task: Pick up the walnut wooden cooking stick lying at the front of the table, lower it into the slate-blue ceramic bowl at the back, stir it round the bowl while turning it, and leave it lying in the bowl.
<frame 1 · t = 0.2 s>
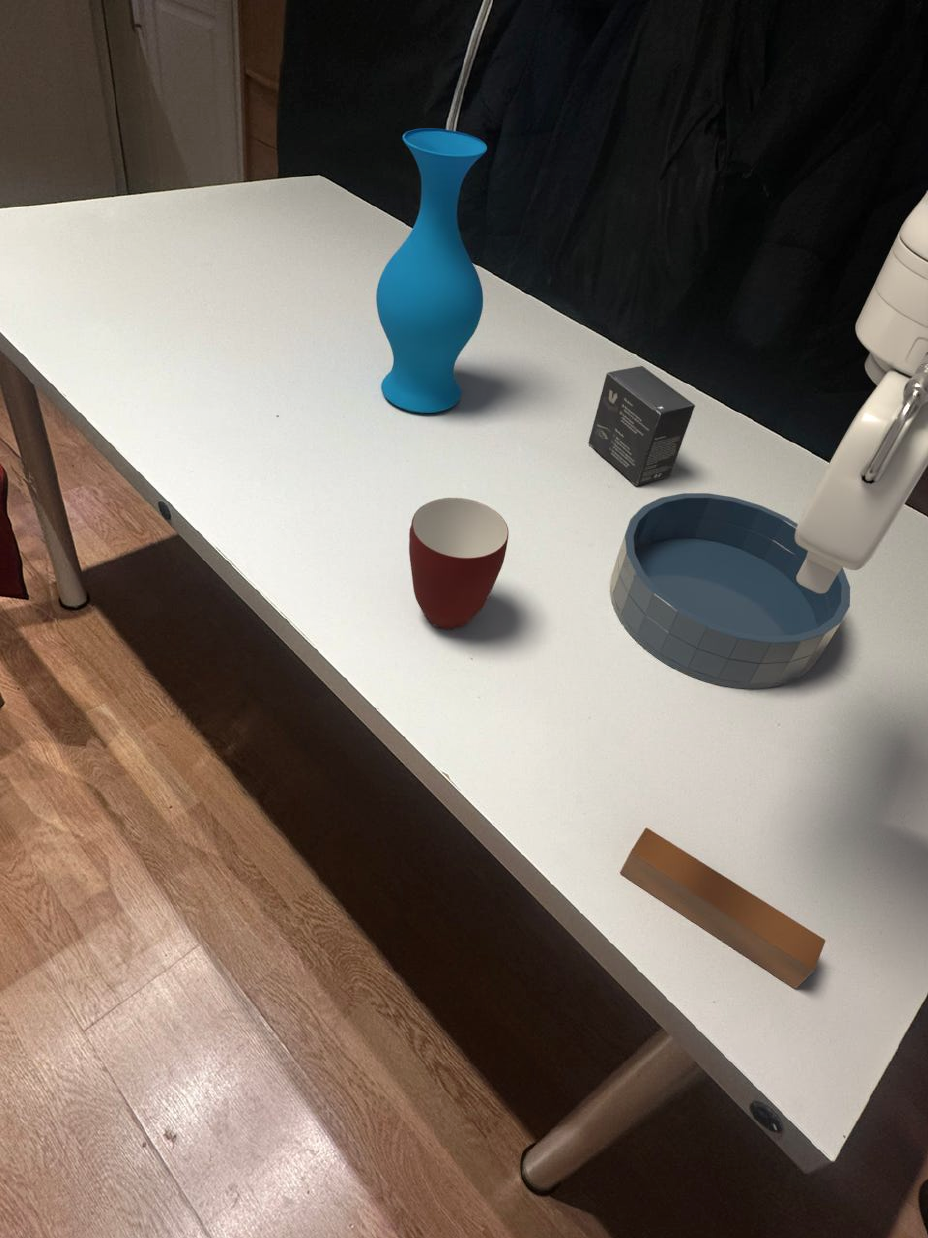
hand: (836, 543, 49), 23 cm above the table, tool pointing down, fingers open, 8 cm apart
box: (627, 462, 96), on the table
bowl: (714, 607, 79), on the table
stick: (710, 915, 56), on the table
vase: (420, 395, 101), on the table
mug: (438, 607, 75), on the table
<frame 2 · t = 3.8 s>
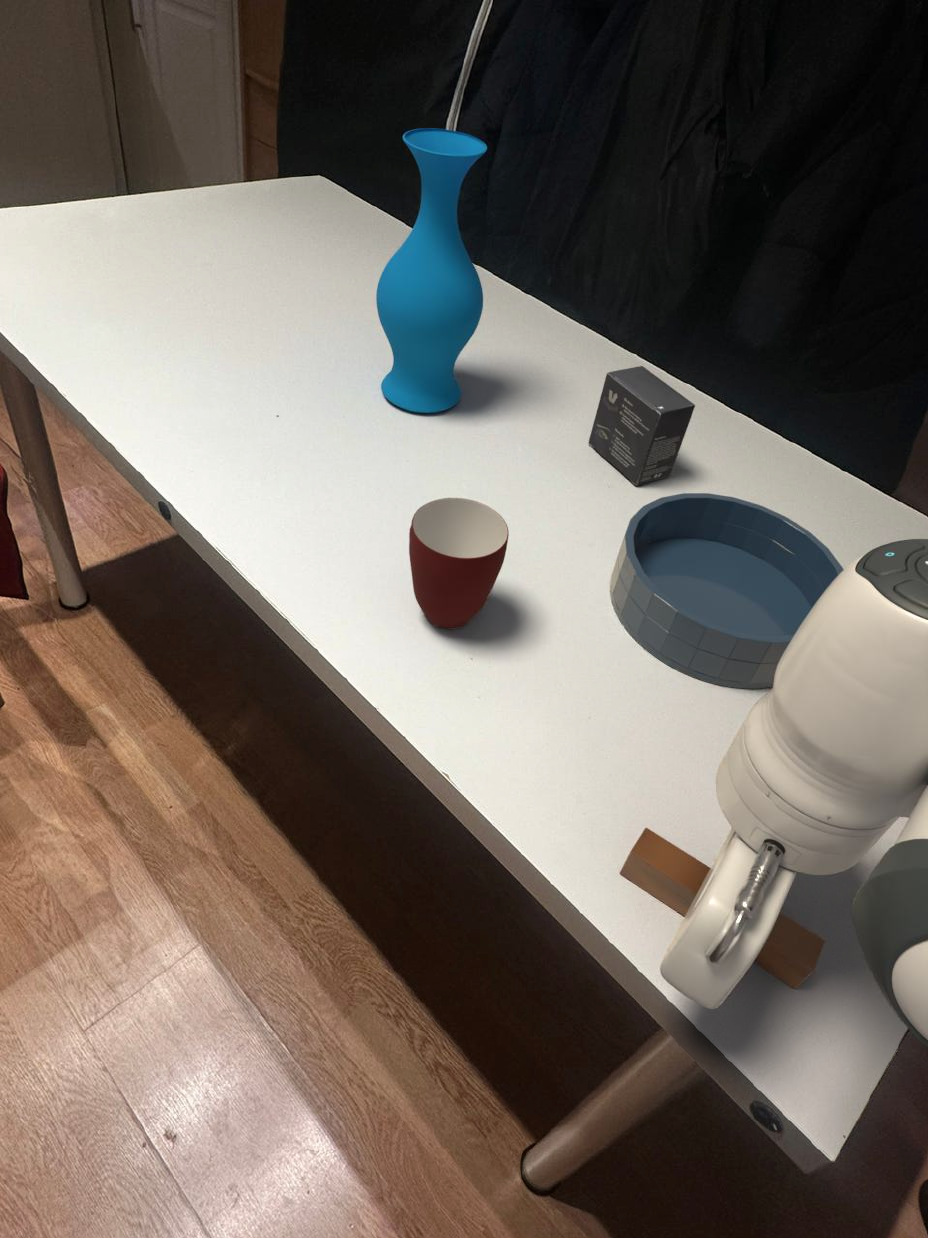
hand: (719, 904, 55), 2 cm above the table, tool pointing down, fingers closed on stick, 2 cm apart
stick: (710, 915, 56), on the table, touching gripper
everything else where it was.
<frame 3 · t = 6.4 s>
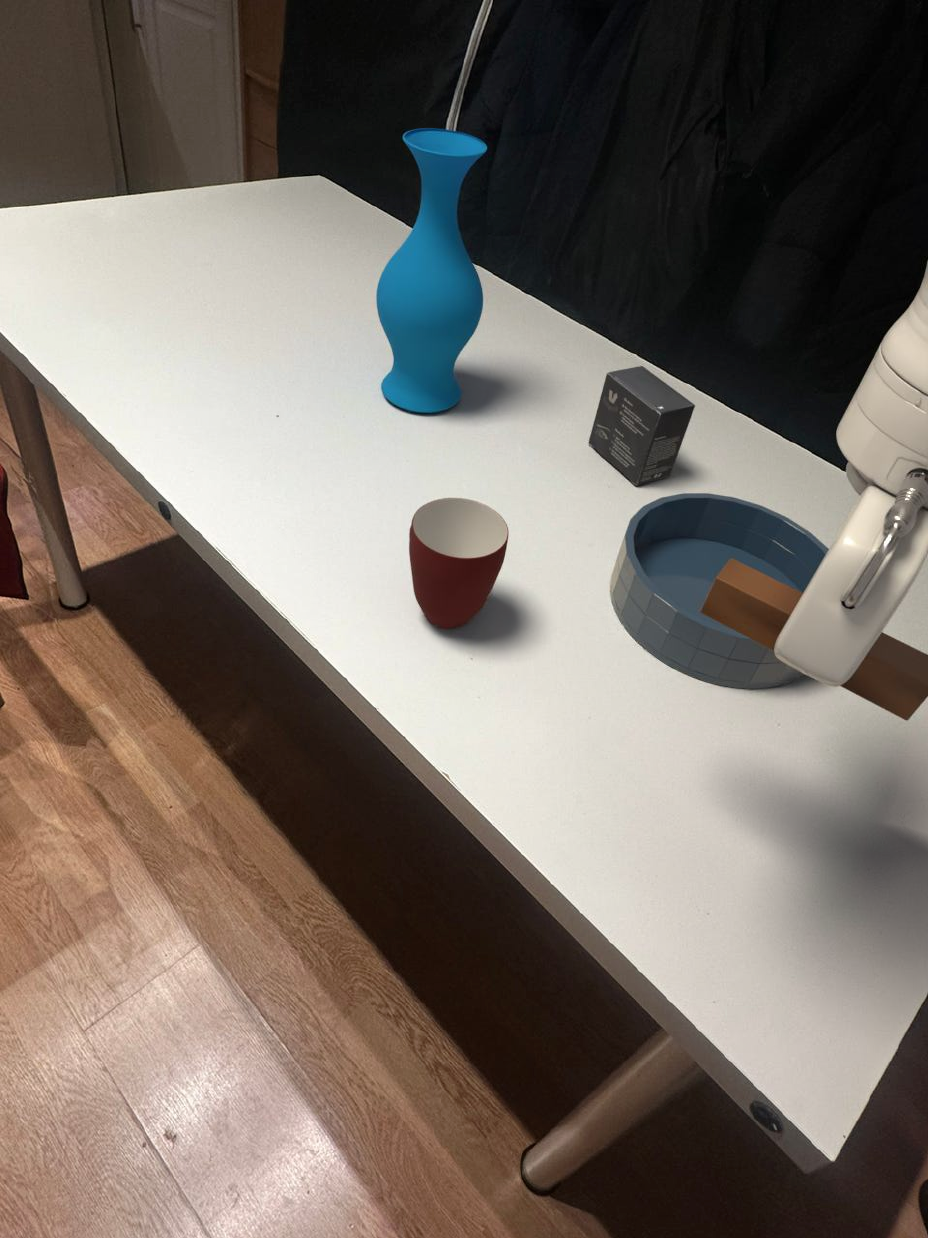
hand: (817, 634, 48), 20 cm above the table, tool pointing down, fingers closed on stick, 2 cm apart
stick: (804, 653, 50), point 18 cm above the table, touching gripper
everything else where it was.
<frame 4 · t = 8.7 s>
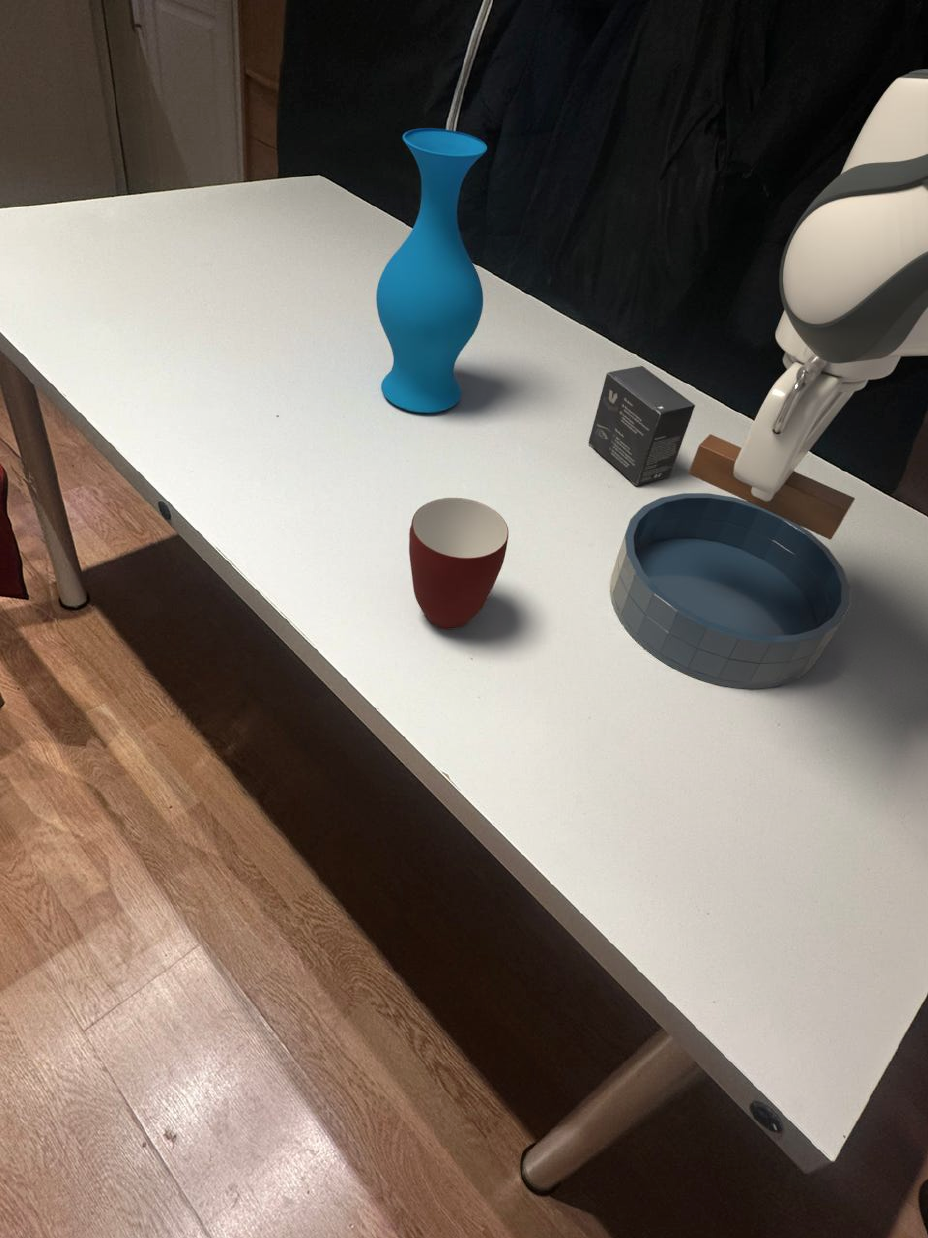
hand: (770, 484, 69), 14 cm above the table, tool pointing down, fingers closed on stick, 2 cm apart
stick: (762, 499, 70), point 13 cm above the table, touching gripper
everything else where it was.
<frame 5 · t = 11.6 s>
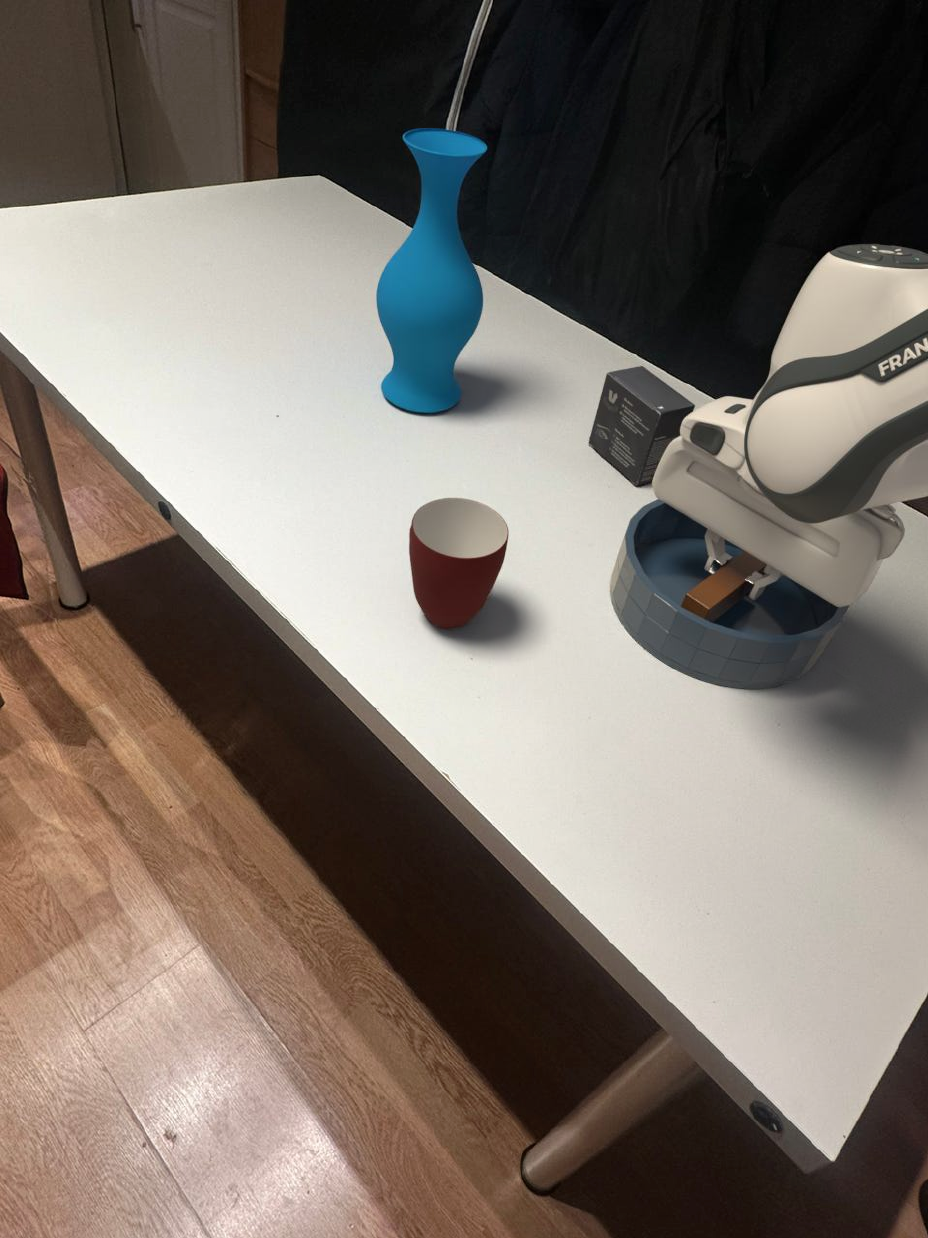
hand: (731, 582, 75), 4 cm above the table, tool pointing down, fingers closed on stick, 2 cm apart
stick: (725, 595, 76), point 3 cm above the table, touching gripper
everything else where it was.
when the fingers open (2 cm above the table, at t = 13.7 s): stick stays where it is, resting on bowl.
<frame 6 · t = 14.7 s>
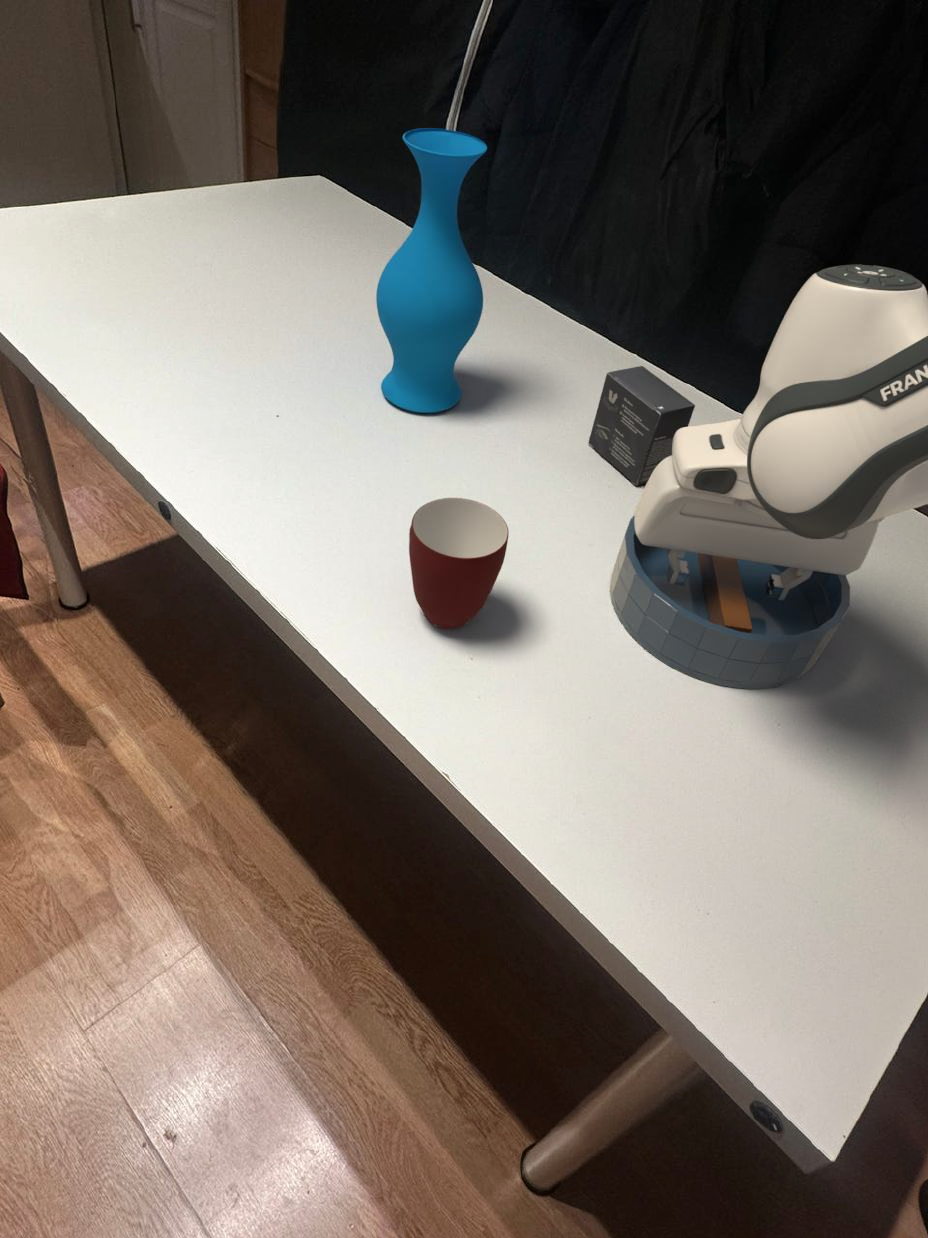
hand: (724, 587, 77), 3 cm above the table, tool pointing down, fingers open, 8 cm apart
stick: (717, 601, 79), point 1 cm above the table, touching bowl
everything else where it was.
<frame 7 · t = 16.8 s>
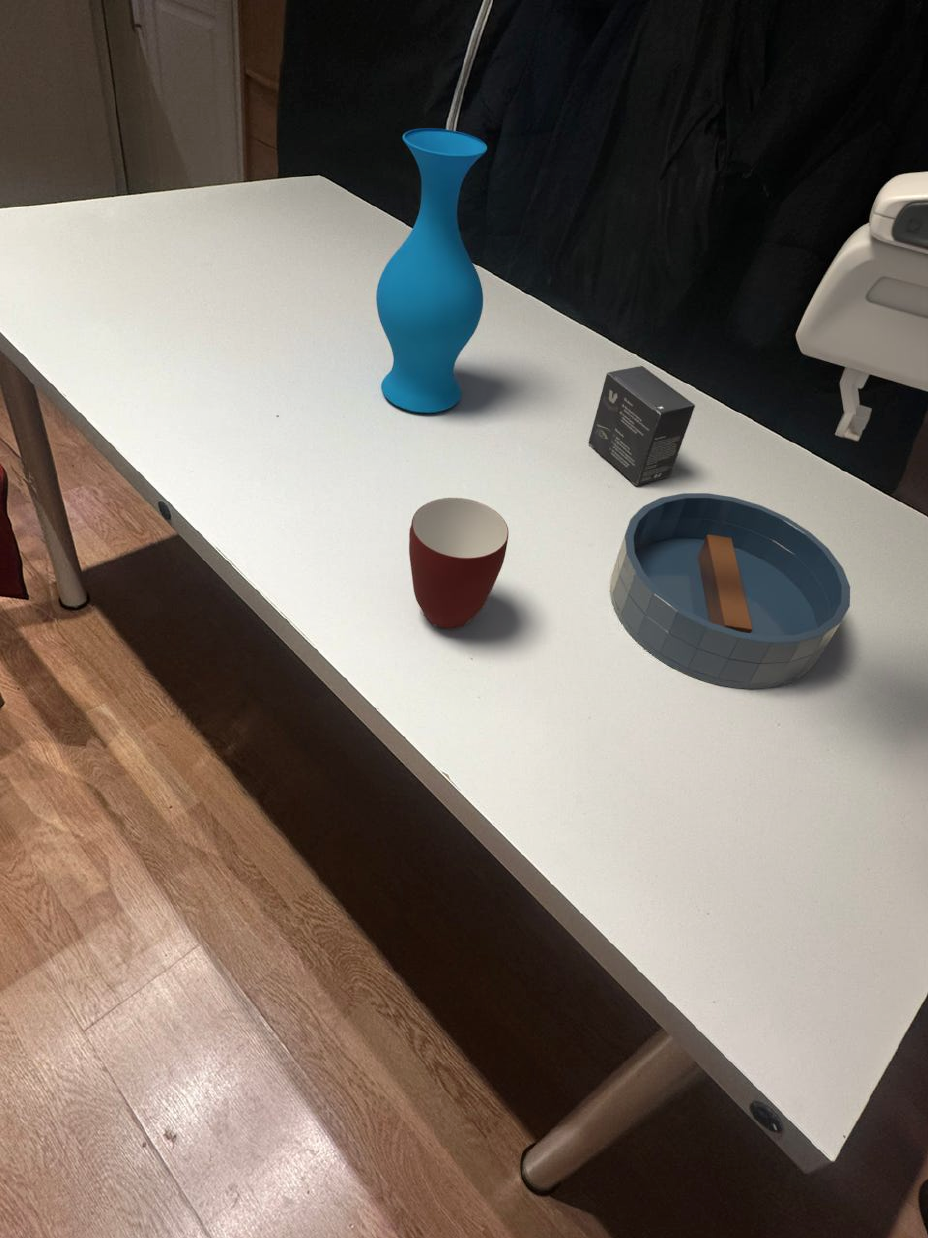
hand: (922, 459, 52), 26 cm above the table, tool pointing down, fingers open, 8 cm apart
nothing on the table moved.
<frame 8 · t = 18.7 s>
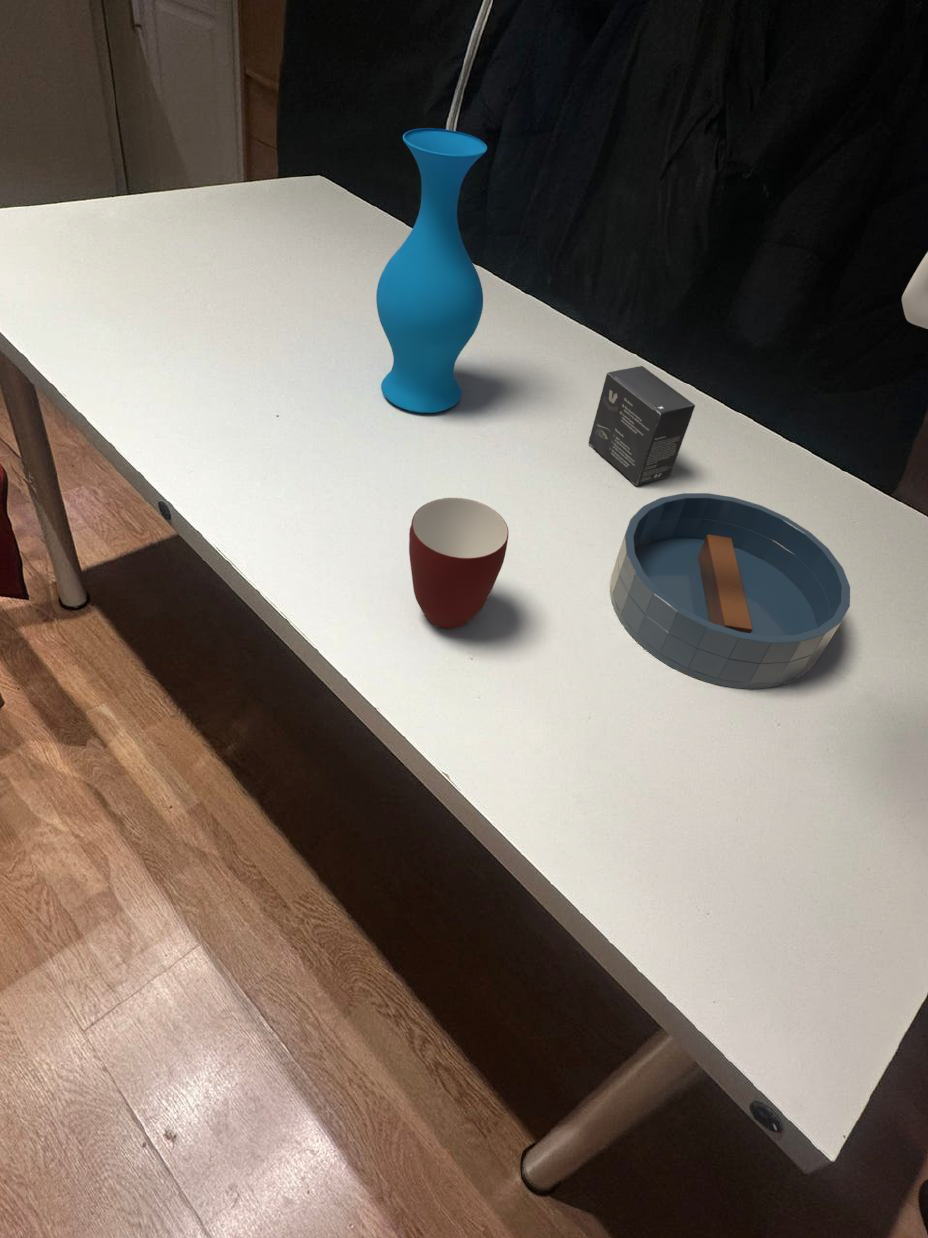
nothing on the table moved.
at the end: stick inside the target area in the bowl (0.0 cm from its centre), point 0.8 cm above the bowl's base; the gripper is holding nothing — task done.
